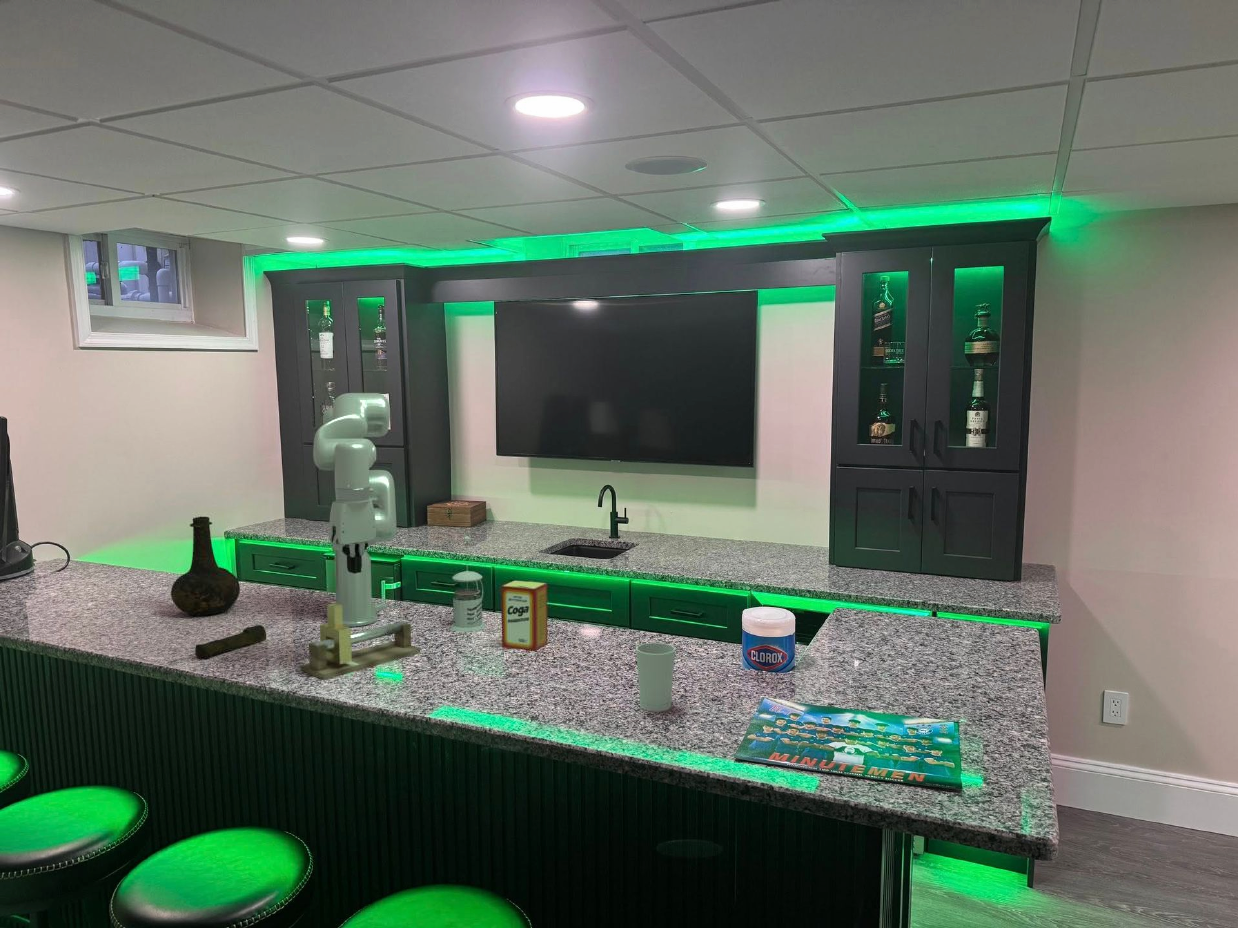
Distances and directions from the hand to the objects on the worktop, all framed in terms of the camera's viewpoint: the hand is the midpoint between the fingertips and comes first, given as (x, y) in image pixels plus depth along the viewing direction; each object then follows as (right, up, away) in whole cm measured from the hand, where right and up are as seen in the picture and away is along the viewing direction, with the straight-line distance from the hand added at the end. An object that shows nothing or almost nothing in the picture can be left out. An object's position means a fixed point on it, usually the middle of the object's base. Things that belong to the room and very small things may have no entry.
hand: (354, 571), depth 200 cm
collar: (-3, -20, -3) cm, 20 cm away
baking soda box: (+38, -21, +15) cm, 46 cm away
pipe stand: (+1, -22, +2) cm, 22 cm away
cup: (+70, -24, -27) cm, 78 cm away
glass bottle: (-58, -18, +48) cm, 78 cm away
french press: (+21, -19, +34) cm, 44 cm away
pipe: (+1, -17, +2) cm, 17 cm away
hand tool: (-34, -21, +12) cm, 42 cm away
